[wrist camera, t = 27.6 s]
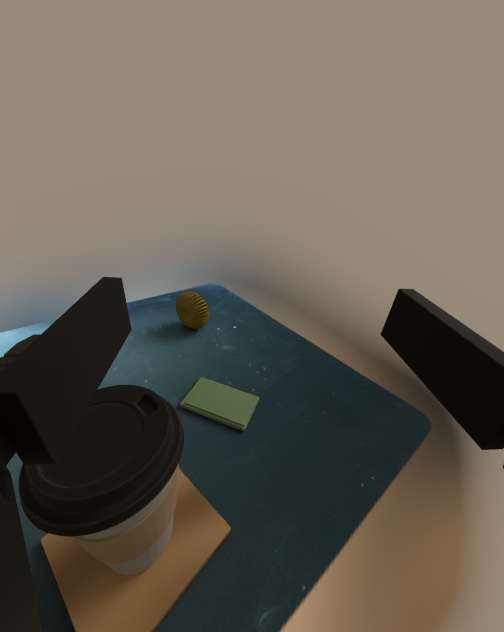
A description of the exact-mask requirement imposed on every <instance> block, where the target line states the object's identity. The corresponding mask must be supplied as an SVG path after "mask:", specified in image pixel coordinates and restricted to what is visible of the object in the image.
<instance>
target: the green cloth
mask: <svg viewBox="0 0 504 632" xmlns="http://www.w3.org/2000/svg"><path fill="white" fill-rule="evenodd" d="M258 401H259V397H257V396H254V395H252V394H249V393H246V392H243V391H240V390H237V389H234V388H231V387H228V386H226V385H223V384H220V383H217V382H214V381H211V380H208V379H205V378H202V377H201V378H200V379H199V381H198V382H197V383H196V384H195V386H194V387H193V388H192V389H191V391H190V392H189V393H188V394H187V396H186V397H185V398H184V399H183V401H182V402H181V403H180V407H182V408H185V409H187V410H190V411H193V412H195V413H198V414H200V415H203V416H205V417H208V418H210V419H213V420H216V421H218V422H221V423H223V424H226V425H228V426H231V427H234V428H236V429H239V430H241V431H245V429H246V427H247V425H248V423H249V420H250V418H251V416H252V414H253V412H254V410H255V407H256V405H257V403H258Z"/></svg>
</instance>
